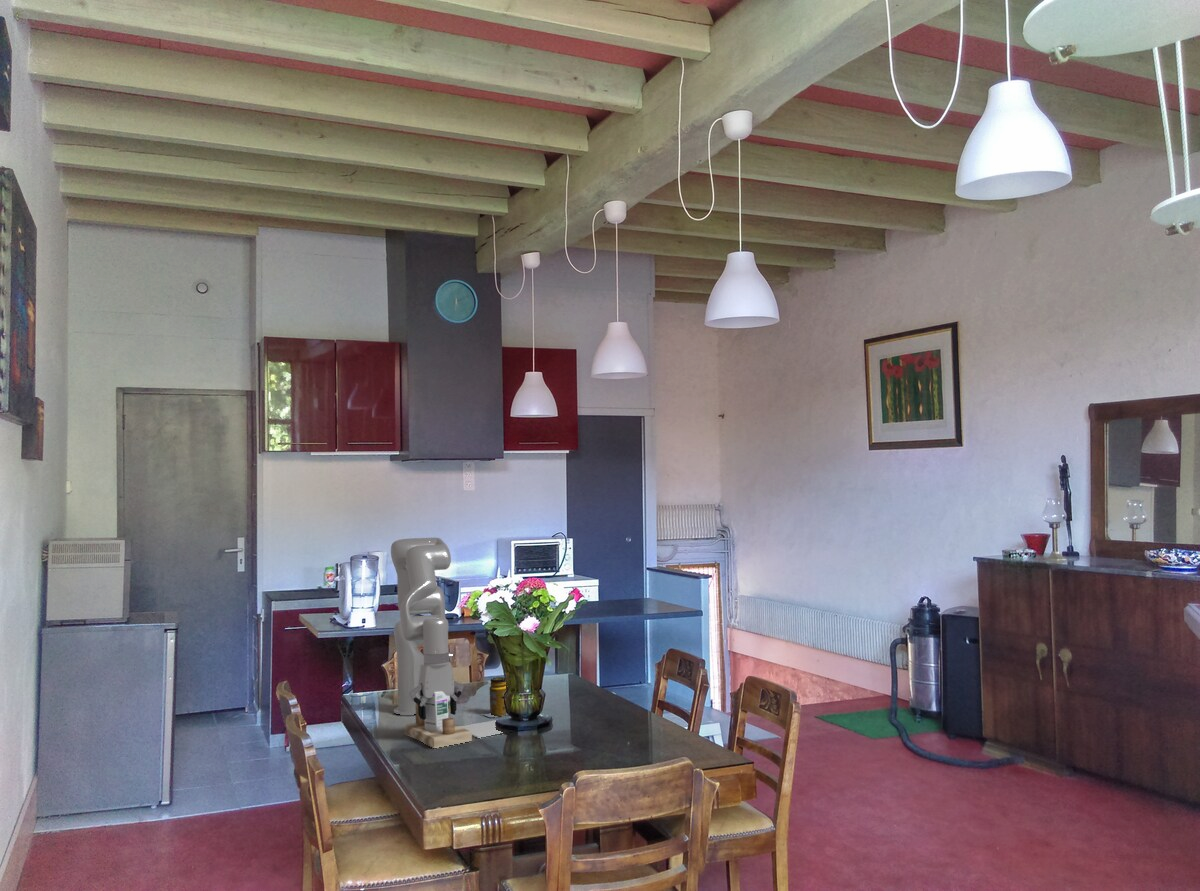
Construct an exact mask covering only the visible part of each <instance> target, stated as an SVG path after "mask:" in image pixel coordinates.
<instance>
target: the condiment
mask: <svg viewBox="0 0 1200 891" xmlns="http://www.w3.org/2000/svg"><path fill="white" fill-rule="evenodd" d="M505 678H506V677H503V676H497V677H492V678H491V679H490V687H489V713H491V715H494V716H502V715H503V717H505V716H504V715H506V711H505V706H504V698H503V697H504V693H505V691H506V685H507V684H506V683H507V681H506V682H505ZM483 714H484V713H480V715H481V716H483Z"/></svg>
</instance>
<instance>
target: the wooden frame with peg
mask: <svg viewBox="0 0 1200 891" xmlns="http://www.w3.org/2000/svg"><path fill="white" fill-rule="evenodd" d="M415 712H416V715H415V722H414V723H413V722H412V723H409V724H408V723H407V724H405V725H404V727H405V730H404V731H405V735H406V734H407V735H409V736H411V737H413V738H415V739H417V740H419V741H421V742H423V743H424V745H425V744H426V746H427V745H428V747H429V746H430V747H429V748H431V747H432V749H433V748H437V749H440V748H439V747H442V748H445V747H444V746H447V747H450V746H449V745H453V746H455V745H454V744H458V745H461V744H460V743H463V744H466V743H465V742H469V741H472V742H473V736H472V732H471V731H469V730H467V729H464V728H462V727H460V725H457V724H456V723H455V722H456V721H455V718H453V717H451V718H445V719H442V729H443V731H438V732H432V733H430V732H428V731H426V730H425V720H423V719H420V717H419V715H418V705H417V704H415ZM407 735H406V736H407ZM409 736H408V737H409ZM411 737H410V738H411ZM413 738H412V739H413ZM415 739H414V740H415ZM417 740H416V741H417ZM419 741H418V742H419ZM421 742H420V743H421ZM423 743H422V744H423ZM469 743H470V742H469Z"/></svg>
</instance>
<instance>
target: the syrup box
mask: <svg viewBox="0 0 1200 891" xmlns="http://www.w3.org/2000/svg"><path fill="white" fill-rule="evenodd" d="M424 706H425V707H426V719H425V730H426V731H428V732H430V733H432V732H438V731H443V729H442V719H445V718H452V716H451V715H452V714H451V713H450V695H449V696H447V695H445V693H444V692H442V691H440V692H434V693H433V698H432V699H427V701H426V702H425V704H424Z"/></svg>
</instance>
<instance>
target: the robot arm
mask: <svg viewBox="0 0 1200 891" xmlns="http://www.w3.org/2000/svg"><path fill="white" fill-rule="evenodd" d="M390 556H391V562H392V564H393V567H394V569H395V572H396V579H397V580H396V581H397V584H396V585H397V607H398V611H399V616H400V617H399V618H400V619H399V621H397V622H396V623H395V625H394V627H393V635H394V643H395V648H396V649H395V650H396V665H397V666H396V668H397V669H396V670H397V704H398V706H397V707H395V708H394V709H393V714H394V713H396V714H400V715H399V716H415V715H414V714H416V712H415V704H417V705H418V715H419V717H420V719H423V720H425V719H426V707H425V706H424V704H425V702H426V701H427V699H432V698H433V693H434V692H440V691H442V692H444V693H445V695H447V696H449V695H450V713H451V715H452V716H453V715H456V714H457V701H459V698H460V696H461V695H462V692H463V690H464V688H465V686H464V684H462V683H461V682H457V681H456V680H454V679H455V678H454V672H453V665H452V662H450V659H452V658H453V652H451V653H450V651H449V628H450V627H449V620H448V619H447V618H446V602H445V600H446V598H445V594H444V591H443V589H442V587H440V586H438V582H437V577H436V572H435V571H445V570H447V569H449V568H450V567H451V563H452V562H451V561H452V558H451V557H452V556H451V552H450V549H449V547H448V545H447V544H446V543H445V542H444V540H443V539H442V538H440V537H418V538H417V537H415V538H401V539H397V540H394V541H393V542H392V543H391V546H390ZM428 614H429V615H428ZM414 615H415V616H414ZM418 647H423V648H422V649H423V650H422V651H423V653H422V651H420V650H419V649H418ZM455 687H456V688H457V689H456V691H455ZM396 714H395V715H396Z"/></svg>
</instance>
